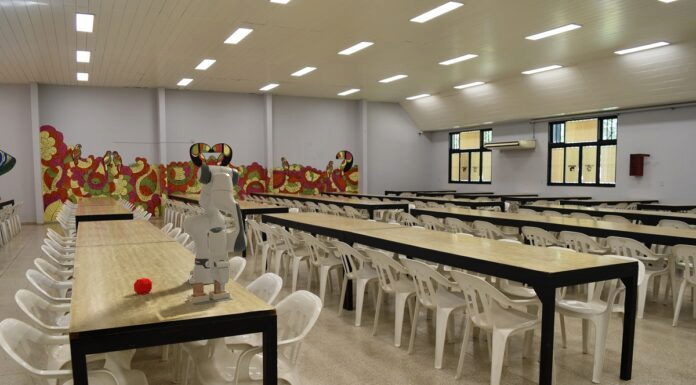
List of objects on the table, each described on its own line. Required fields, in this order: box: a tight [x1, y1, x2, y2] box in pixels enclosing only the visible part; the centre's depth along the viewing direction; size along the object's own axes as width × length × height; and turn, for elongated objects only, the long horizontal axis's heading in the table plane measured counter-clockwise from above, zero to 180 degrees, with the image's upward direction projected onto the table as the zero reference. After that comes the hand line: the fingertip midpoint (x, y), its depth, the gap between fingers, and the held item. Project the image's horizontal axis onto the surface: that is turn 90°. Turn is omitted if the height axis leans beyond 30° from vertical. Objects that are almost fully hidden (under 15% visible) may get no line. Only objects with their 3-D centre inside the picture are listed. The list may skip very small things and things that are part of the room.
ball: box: [133, 277, 153, 296], centre depth 256 cm, size 8×8×8 cm
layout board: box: [185, 289, 234, 306], centre depth 236 cm, size 18×18×4 cm
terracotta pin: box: [213, 280, 226, 294], centre depth 239 cm, size 4×4×8 cm
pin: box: [192, 282, 205, 297], centre depth 234 cm, size 4×4×8 cm
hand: (219, 289), depth 239 cm, fingers open, 8 cm apart
